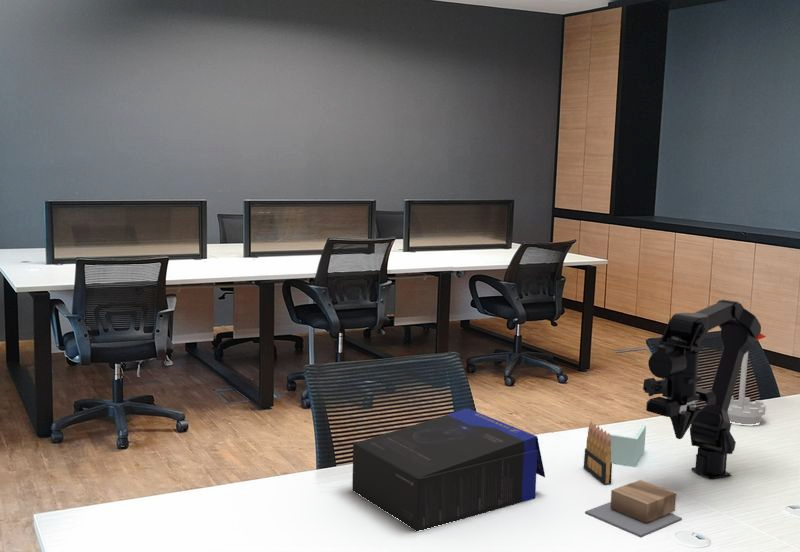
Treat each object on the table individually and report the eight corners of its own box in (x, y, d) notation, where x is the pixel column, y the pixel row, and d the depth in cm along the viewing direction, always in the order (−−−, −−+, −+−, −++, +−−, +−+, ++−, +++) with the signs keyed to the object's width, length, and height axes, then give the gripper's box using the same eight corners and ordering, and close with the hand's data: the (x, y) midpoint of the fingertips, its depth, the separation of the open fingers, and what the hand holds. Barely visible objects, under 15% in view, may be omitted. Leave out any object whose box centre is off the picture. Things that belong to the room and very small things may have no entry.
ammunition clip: (611, 484, 197) (614, 434, 196) (604, 485, 197) (607, 434, 195) (590, 467, 208) (593, 419, 206) (583, 468, 207) (586, 420, 205)
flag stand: (720, 425, 243) (729, 321, 239) (711, 411, 256) (719, 312, 251) (769, 428, 241) (778, 323, 237) (758, 415, 254) (766, 315, 249)
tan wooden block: (640, 479, 188) (611, 490, 182) (676, 493, 181) (647, 504, 175) (639, 498, 188) (610, 509, 182) (674, 512, 181) (646, 524, 175)
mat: (626, 497, 190) (626, 496, 190) (681, 519, 179) (681, 517, 179) (585, 513, 181) (585, 511, 181) (640, 537, 170) (640, 535, 170)
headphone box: (545, 496, 190) (548, 434, 188) (417, 533, 170) (419, 463, 168) (474, 462, 210) (476, 405, 208) (351, 491, 190) (352, 429, 188)
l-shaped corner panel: (644, 453, 219) (646, 425, 218) (635, 469, 209) (637, 439, 208) (597, 446, 225) (598, 418, 223) (586, 460, 214) (587, 431, 213)
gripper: (676, 358, 203) (672, 421, 205) (628, 369, 192) (623, 436, 194) (719, 368, 195) (714, 434, 197) (671, 380, 183) (666, 450, 185)
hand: (679, 438), depth 193 cm, fingers closed
